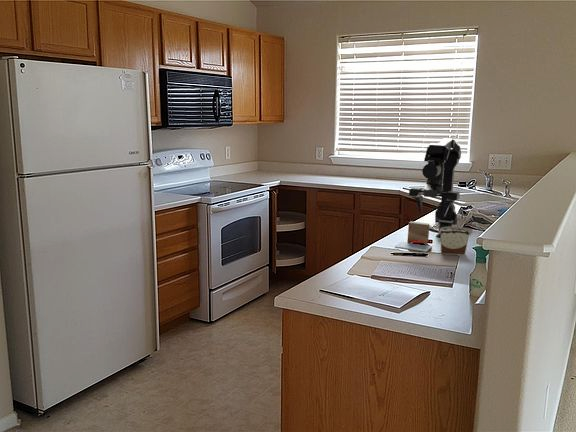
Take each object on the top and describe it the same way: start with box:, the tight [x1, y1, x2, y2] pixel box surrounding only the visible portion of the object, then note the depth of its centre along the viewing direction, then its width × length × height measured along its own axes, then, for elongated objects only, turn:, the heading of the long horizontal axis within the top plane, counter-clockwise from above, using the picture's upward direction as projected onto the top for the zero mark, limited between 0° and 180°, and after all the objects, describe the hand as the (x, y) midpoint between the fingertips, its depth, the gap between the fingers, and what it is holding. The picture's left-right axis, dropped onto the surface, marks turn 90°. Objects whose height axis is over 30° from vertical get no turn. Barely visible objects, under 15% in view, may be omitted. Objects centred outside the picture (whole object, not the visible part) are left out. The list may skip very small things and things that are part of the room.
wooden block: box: [406, 220, 431, 245], centre depth 225 cm, size 3×8×9 cm, turn 62°
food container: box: [439, 226, 471, 256], centre depth 213 cm, size 12×6×10 cm, turn 89°
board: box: [394, 241, 433, 253], centre depth 221 cm, size 9×13×1 cm
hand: (432, 215), depth 213 cm, fingers open, 9 cm apart
